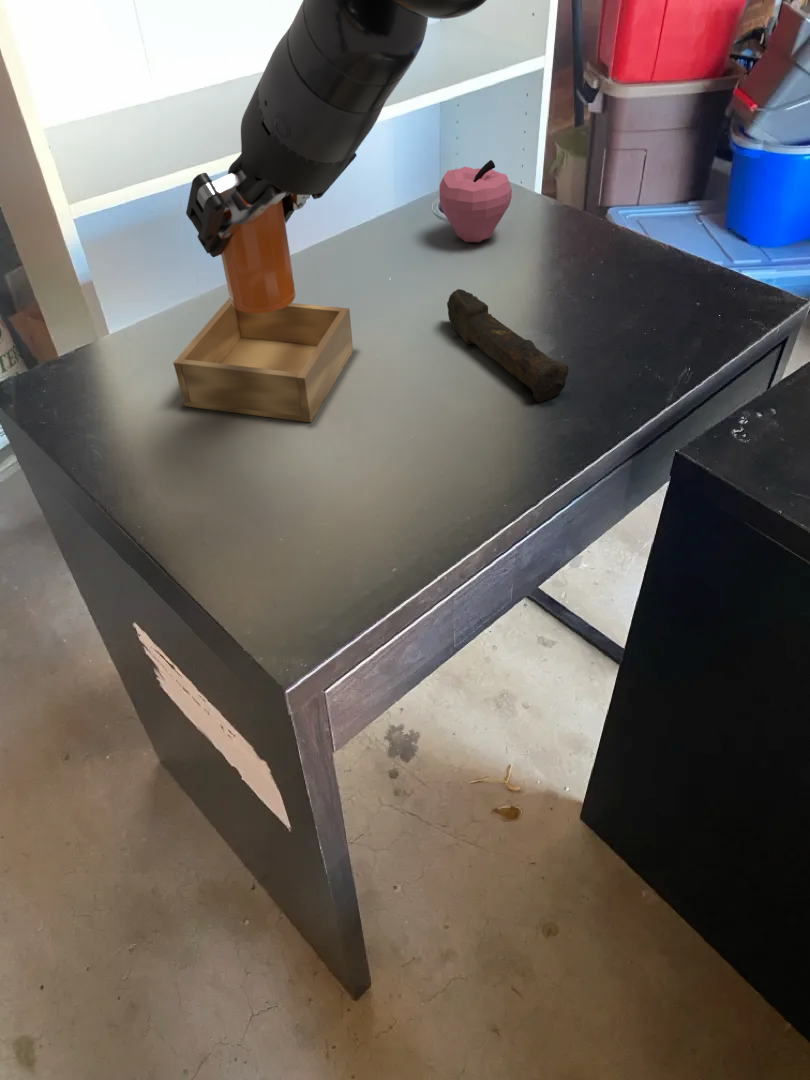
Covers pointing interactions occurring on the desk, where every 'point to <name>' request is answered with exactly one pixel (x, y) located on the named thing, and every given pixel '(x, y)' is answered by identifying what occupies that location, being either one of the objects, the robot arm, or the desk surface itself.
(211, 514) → the desk surface
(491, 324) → the dark brown long bar
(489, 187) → the apple
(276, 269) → the orange cup
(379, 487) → the desk surface
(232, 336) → the wooden tray
